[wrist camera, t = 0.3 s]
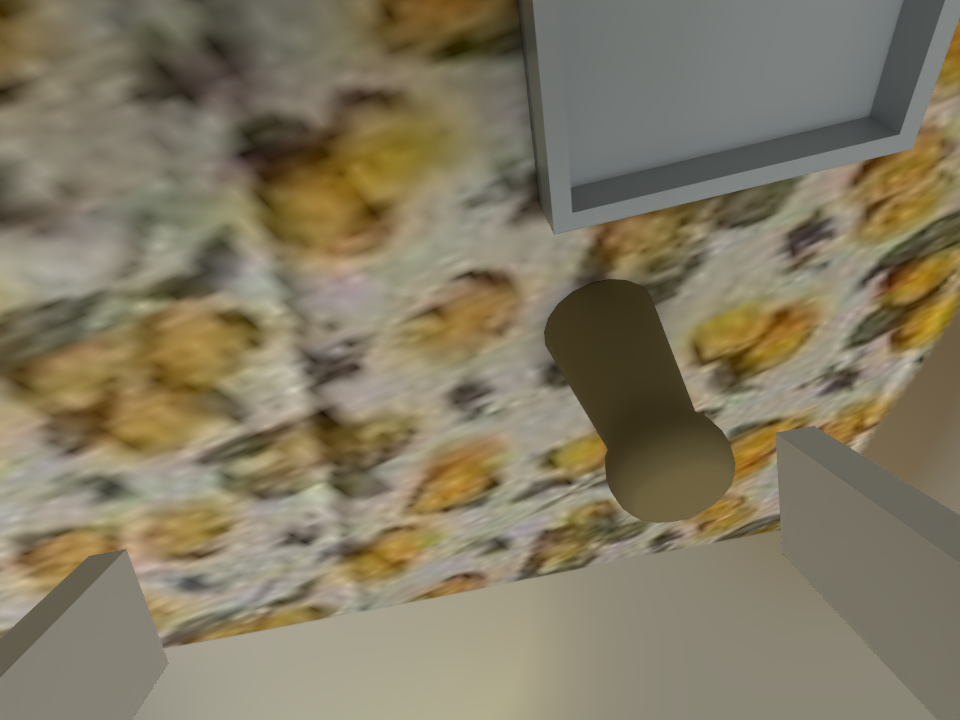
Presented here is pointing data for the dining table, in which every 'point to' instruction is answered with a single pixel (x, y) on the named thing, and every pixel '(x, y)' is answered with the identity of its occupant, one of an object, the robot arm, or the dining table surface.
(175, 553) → the dining table surface
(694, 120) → the tray
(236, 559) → the dining table surface
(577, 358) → the cork
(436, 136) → the dining table surface
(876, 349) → the dining table surface
